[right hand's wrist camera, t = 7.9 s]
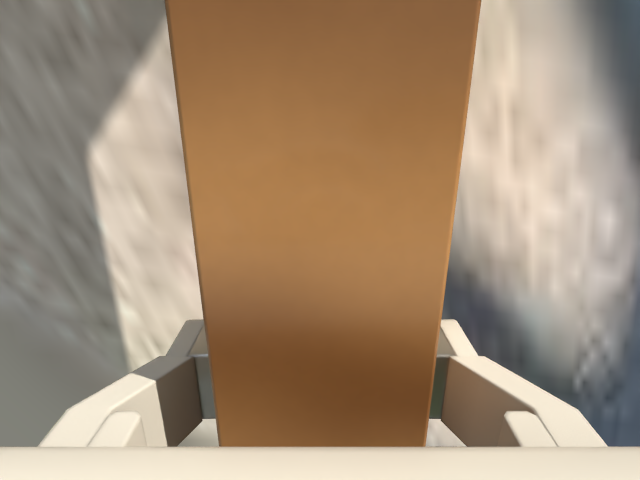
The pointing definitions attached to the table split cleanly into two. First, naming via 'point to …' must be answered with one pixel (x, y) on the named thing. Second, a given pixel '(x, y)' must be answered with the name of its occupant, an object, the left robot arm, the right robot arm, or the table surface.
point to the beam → (322, 207)
